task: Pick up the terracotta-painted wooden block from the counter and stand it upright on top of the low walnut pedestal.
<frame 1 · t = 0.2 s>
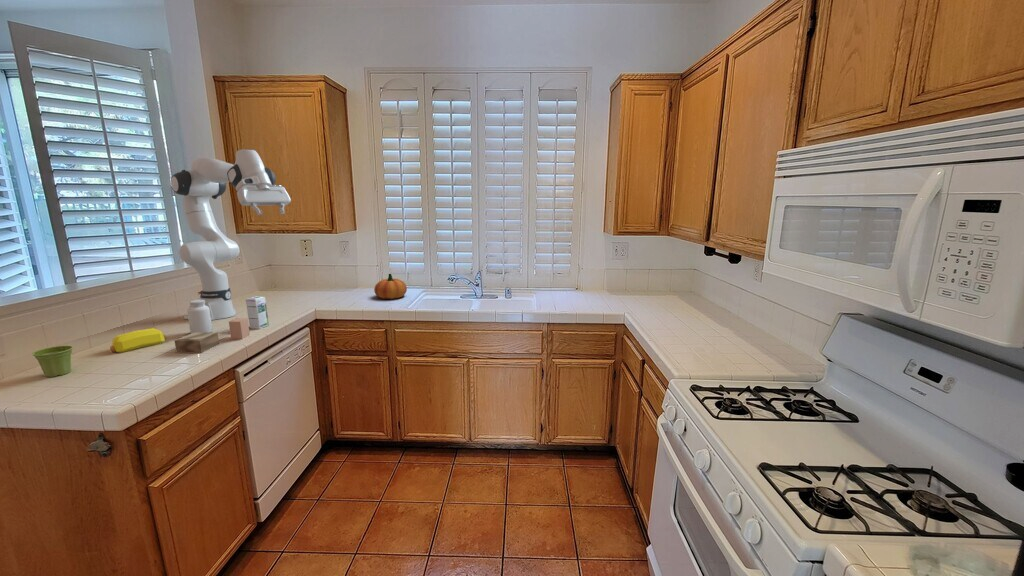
hand: (271, 213, 174), 54 cm above the countertop, tool tilted 30°, fingers open, 8 cm apart
yellow long rounded bar: (140, 347, 168), on the countertop
syrup box: (259, 327, 195), on the countertop
pill bottle: (201, 333, 186), on the countertop
pedestal: (198, 348, 167), on the countertop
terracotta block: (240, 337, 181), on the countertop
pumpkin: (391, 297, 258), on the countertop
plant pot: (58, 374, 142), on the countertop
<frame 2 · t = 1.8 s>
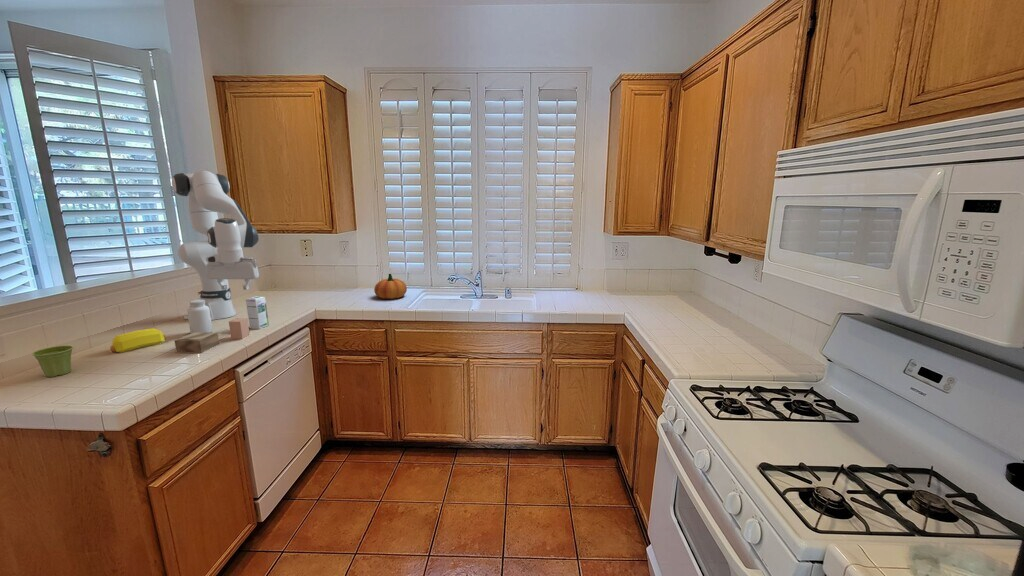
hand: (235, 289, 176), 22 cm above the countertop, tool pointing down, fingers open, 8 cm apart
nothing on the countertop moved.
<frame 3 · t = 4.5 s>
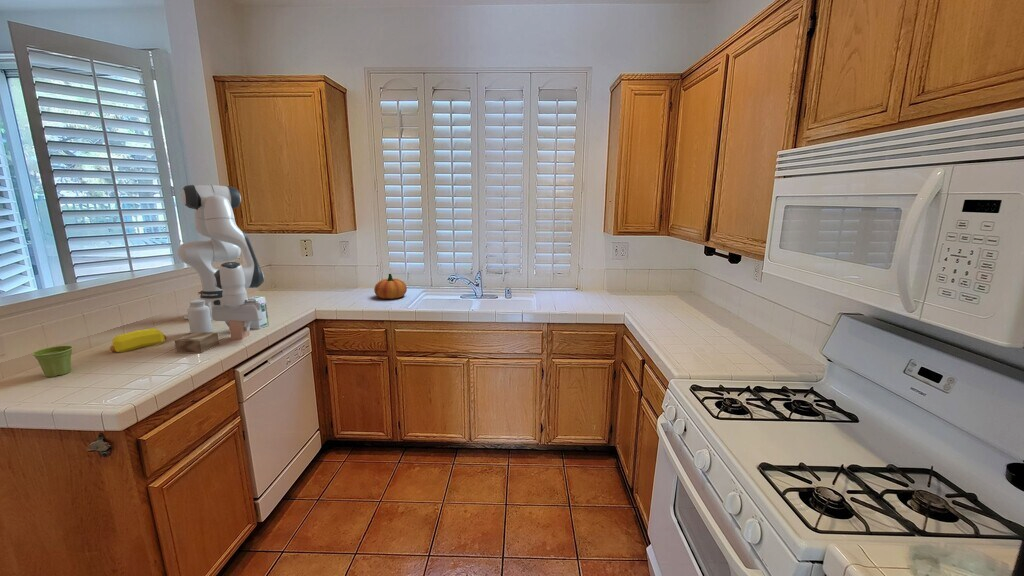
hand: (239, 330, 180), 3 cm above the countertop, tool pointing down, fingers closed on terracotta block, 5 cm apart
terracotta block: (240, 337, 181), on the countertop, touching gripper
everything else where it was.
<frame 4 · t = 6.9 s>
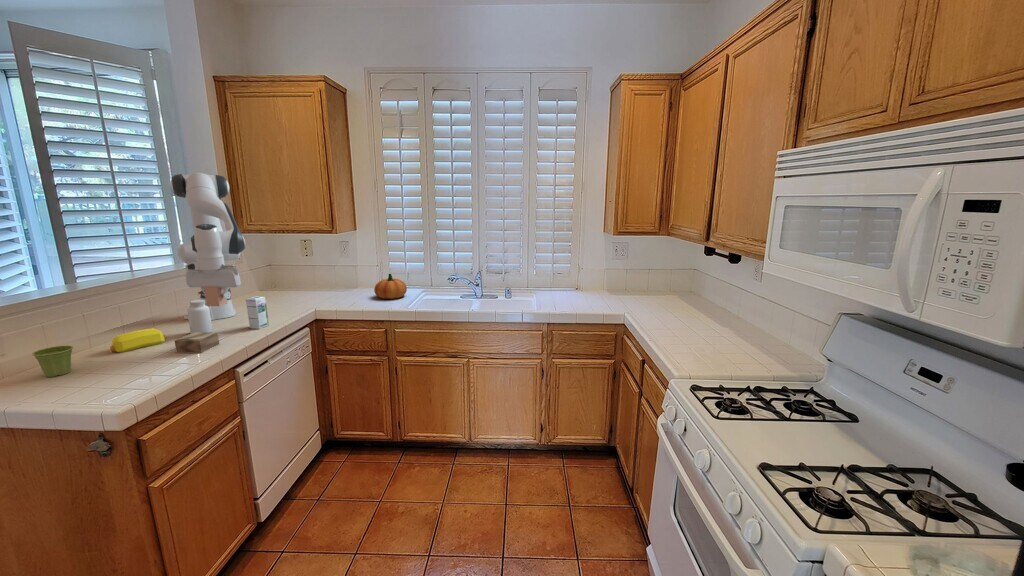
hand: (216, 297, 170), 20 cm above the countertop, tool pointing down, fingers closed on terracotta block, 5 cm apart
terracotta block: (217, 304, 171), point 16 cm above the countertop, touching gripper
everything else where it was.
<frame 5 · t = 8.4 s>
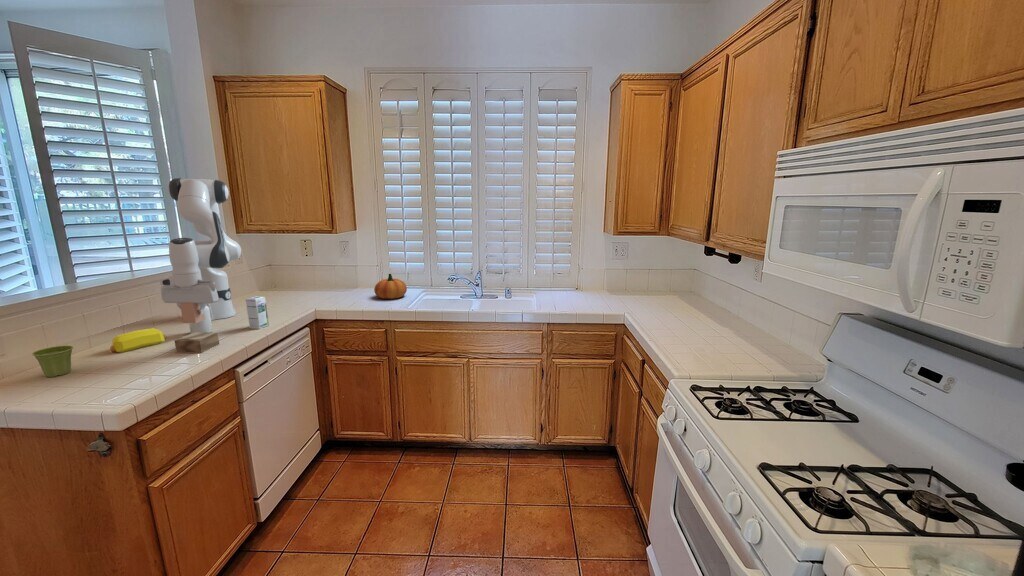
hand: (193, 313, 164), 15 cm above the countertop, tool pointing down, fingers closed on terracotta block, 5 cm apart
terracotta block: (194, 321, 165), point 12 cm above the countertop, touching gripper
everything else where it was.
when the fingers open (10 cm above the countertop, at t = 9.6 s): terracotta block drops 1 cm, resting on pedestal.
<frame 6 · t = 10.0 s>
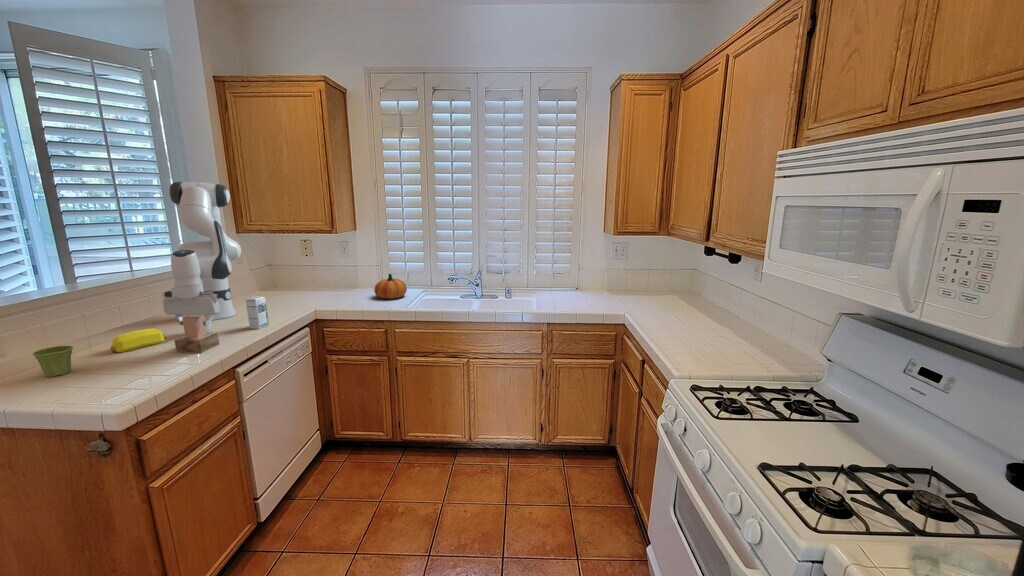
hand: (194, 325, 165), 10 cm above the countertop, tool pointing down, fingers open, 8 cm apart
terracotta block: (196, 335, 166), point 5 cm above the countertop, touching pedestal
everything else where it was.
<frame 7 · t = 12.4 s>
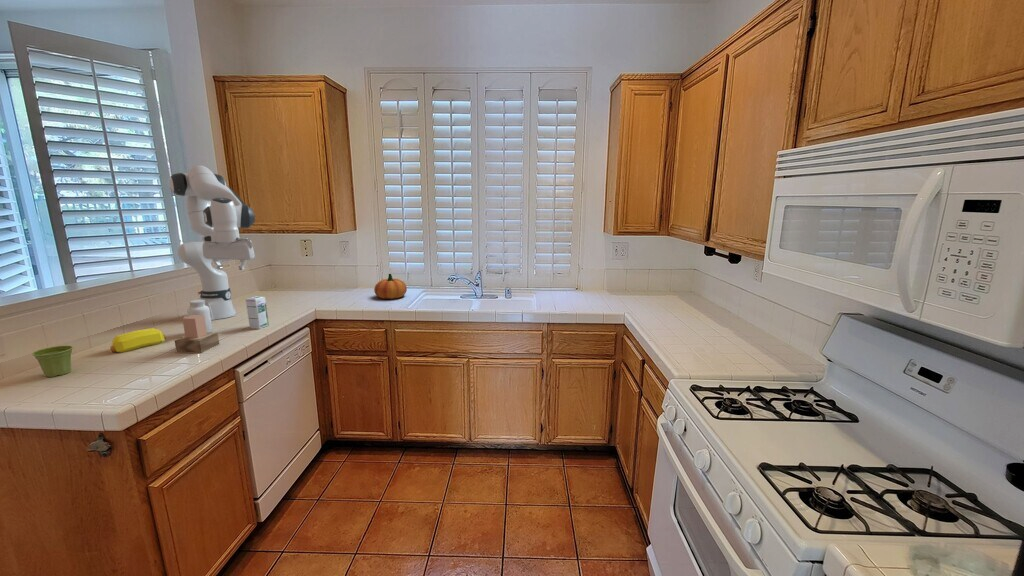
hand: (231, 269, 176), 30 cm above the countertop, tool pointing down, fingers open, 8 cm apart
nothing on the countertop moved.
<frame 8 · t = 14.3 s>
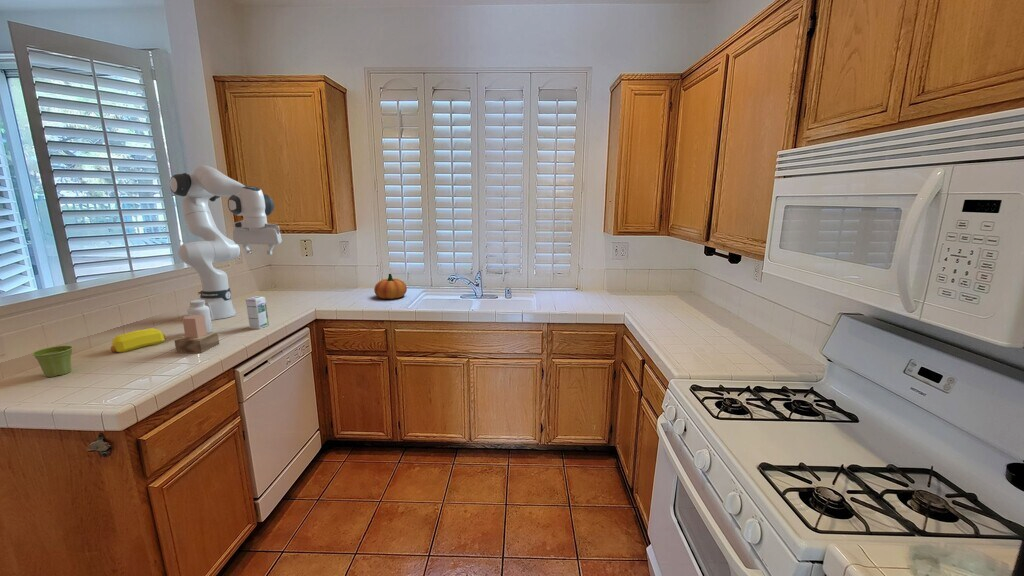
hand: (259, 254, 187), 35 cm above the countertop, tool pointing down, fingers open, 8 cm apart
nothing on the countertop moved.
at the end: terracotta block 0.1 cm from the pedestal (horizontally); terracotta block point 5.3 cm above the countertop; terracotta block tilted 0° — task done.
